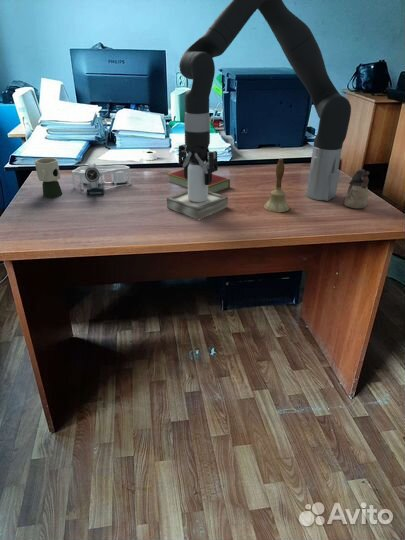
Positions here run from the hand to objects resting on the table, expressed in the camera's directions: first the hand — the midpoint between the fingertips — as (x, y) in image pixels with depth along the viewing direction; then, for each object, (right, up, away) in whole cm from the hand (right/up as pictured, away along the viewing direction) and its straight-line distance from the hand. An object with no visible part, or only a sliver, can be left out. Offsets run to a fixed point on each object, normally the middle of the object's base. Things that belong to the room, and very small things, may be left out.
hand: (197, 181), depth 126 cm
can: (0, -5, +3) cm, 6 cm away
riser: (0, -8, +5) cm, 9 cm away
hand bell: (+26, -8, +6) cm, 28 cm away
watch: (-36, -2, +14) cm, 39 cm away
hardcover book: (0, +3, +24) cm, 25 cm away
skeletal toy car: (-35, +3, +22) cm, 41 cm away
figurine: (+53, -6, +8) cm, 54 cm away
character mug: (-50, -3, +12) cm, 52 cm away
